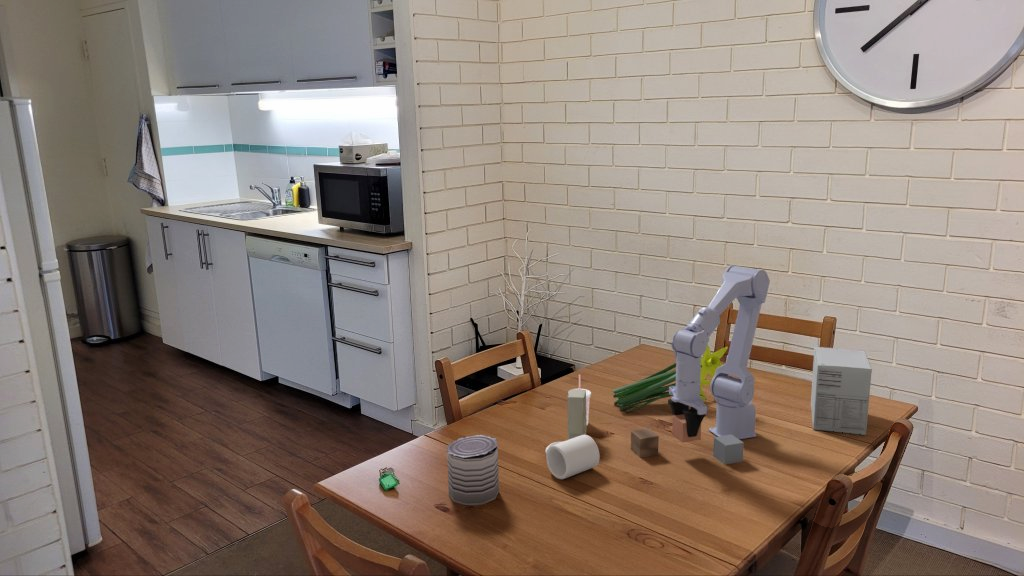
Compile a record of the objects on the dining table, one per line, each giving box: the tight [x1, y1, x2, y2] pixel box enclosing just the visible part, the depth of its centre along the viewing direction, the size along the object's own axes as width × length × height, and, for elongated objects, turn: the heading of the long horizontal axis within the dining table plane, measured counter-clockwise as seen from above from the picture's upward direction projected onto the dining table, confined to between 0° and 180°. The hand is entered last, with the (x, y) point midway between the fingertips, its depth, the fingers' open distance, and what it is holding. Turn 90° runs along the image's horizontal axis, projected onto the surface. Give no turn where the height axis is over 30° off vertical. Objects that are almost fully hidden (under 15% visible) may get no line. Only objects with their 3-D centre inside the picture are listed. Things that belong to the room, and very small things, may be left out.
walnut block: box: [630, 427, 660, 458], centre depth 187 cm, size 5×5×5 cm
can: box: [446, 434, 500, 506], centre depth 168 cm, size 11×11×12 cm
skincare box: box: [566, 388, 588, 440], centre depth 196 cm, size 6×4×12 cm
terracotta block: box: [671, 414, 702, 444], centre depth 184 cm, size 5×5×5 cm
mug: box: [544, 434, 600, 480], centre depth 179 cm, size 12×10×8 cm
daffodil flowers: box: [612, 343, 729, 414], centre depth 217 cm, size 17×15×35 cm
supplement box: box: [810, 346, 873, 436], centre depth 202 cm, size 17×13×18 cm
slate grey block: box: [712, 434, 745, 465], centre depth 182 cm, size 5×5×5 cm
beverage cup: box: [567, 374, 592, 426], centre depth 204 cm, size 6×6×14 cm
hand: (686, 431), depth 184 cm, fingers closed on terracotta block, 5 cm apart
